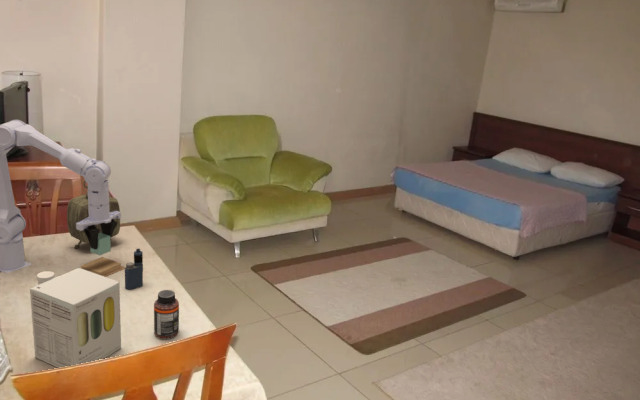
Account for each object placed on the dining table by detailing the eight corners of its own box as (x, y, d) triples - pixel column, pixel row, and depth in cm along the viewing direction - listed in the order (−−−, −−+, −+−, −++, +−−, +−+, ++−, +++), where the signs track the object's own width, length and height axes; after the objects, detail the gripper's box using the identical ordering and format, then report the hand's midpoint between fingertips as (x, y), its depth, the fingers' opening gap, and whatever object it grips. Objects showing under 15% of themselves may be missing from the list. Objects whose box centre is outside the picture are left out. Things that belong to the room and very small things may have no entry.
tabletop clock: (108, 238, 185) (106, 169, 177) (123, 246, 180) (122, 175, 172) (68, 249, 174) (64, 176, 166) (83, 257, 169) (80, 183, 161)
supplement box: (76, 377, 113) (72, 305, 108) (33, 358, 118) (28, 287, 113) (122, 348, 125) (121, 281, 119) (82, 331, 130) (79, 266, 125)
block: (90, 251, 158) (89, 236, 157) (101, 247, 162) (100, 232, 160) (99, 255, 156) (99, 239, 155) (110, 251, 160) (110, 235, 158)
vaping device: (144, 287, 154) (144, 249, 150) (127, 292, 150) (127, 254, 146) (140, 284, 155) (140, 246, 152) (123, 289, 151) (122, 250, 148)
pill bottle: (49, 314, 135) (47, 280, 132) (31, 311, 136) (28, 276, 133) (63, 305, 140) (61, 272, 138) (45, 301, 141) (43, 268, 138)
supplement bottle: (156, 326, 135) (156, 286, 131) (180, 327, 135) (181, 287, 132) (151, 339, 129) (151, 298, 126) (176, 340, 130) (176, 299, 126)
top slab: (81, 270, 159) (80, 265, 159) (102, 261, 166) (102, 256, 165) (100, 277, 156) (99, 272, 155) (121, 267, 163) (120, 263, 162)
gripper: (87, 212, 147) (89, 257, 151) (127, 200, 159) (128, 242, 163) (70, 206, 150) (72, 250, 154) (111, 195, 162) (112, 236, 166)
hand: (100, 246), depth 159 cm, fingers closed on block, 4 cm apart
